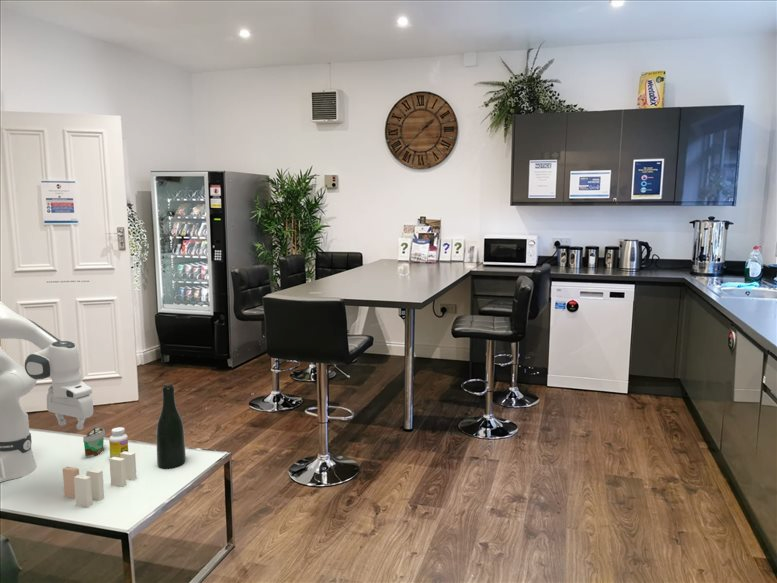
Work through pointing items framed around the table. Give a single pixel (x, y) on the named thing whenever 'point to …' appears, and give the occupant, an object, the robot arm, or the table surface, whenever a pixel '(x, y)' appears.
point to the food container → (94, 442)
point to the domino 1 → (69, 481)
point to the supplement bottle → (118, 442)
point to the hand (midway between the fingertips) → (71, 427)
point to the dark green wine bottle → (170, 433)
